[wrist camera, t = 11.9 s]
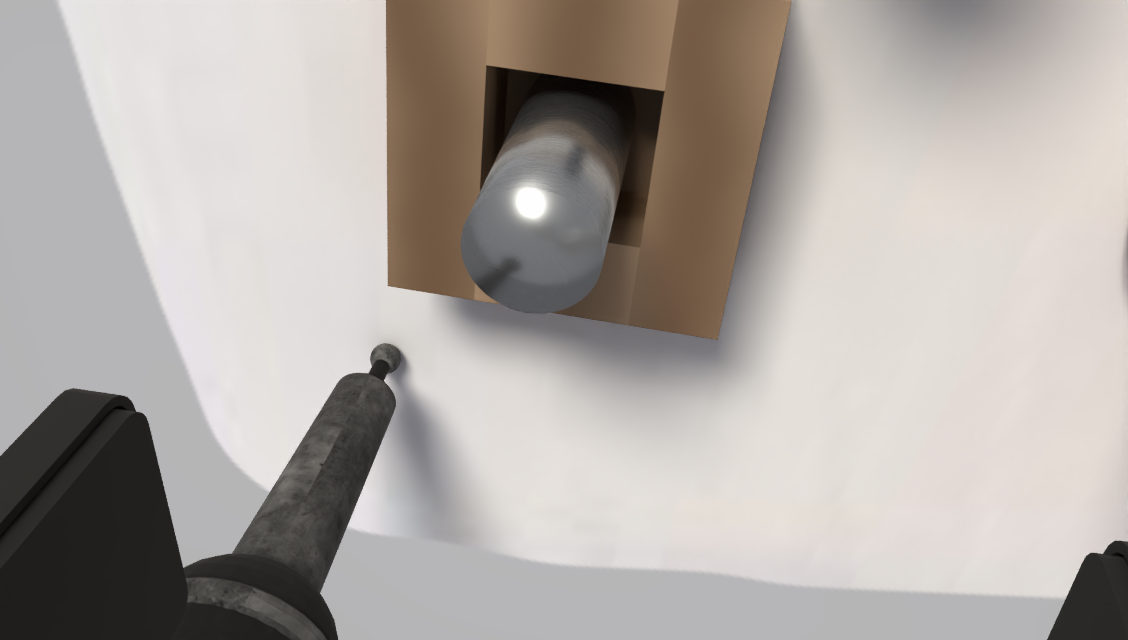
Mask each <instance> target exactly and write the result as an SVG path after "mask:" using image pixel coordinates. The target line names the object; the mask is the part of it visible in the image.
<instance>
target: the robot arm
mask: <svg viewBox="0 0 1128 640" xmlns="http://www.w3.org/2000/svg"><path fill="white" fill-rule="evenodd" d="M187 600H188V587H187V582H186V578H185V574H184V569H183V566H182V561H181V557H180V553H179V548H178V544H177V540H176V536H175V532H174V528H173V524H172V519H171V515H170V511H169V507H168V502H167V498H166V494H165V491H164V486H163V482H162V477H161V473H160V469H159V465H158V461H157V456H156V452H155V448H154V444H153V440H152V436H151V431H150V427H149V423H148V421H147V418H146V416H145V415H144V414H143V413H140V412H136V410H135V408H134V405H133V403H132V402H131V400H130V399H129V398H128V397H125V396H121V395H115V394H108V393H101V392H95V391H88V390H81V389H74V388H73V389H69V390H66V391H64V392H63V393H62V394H60V395H59V396H58V397H57V398H56V399H55V400H54V401H53V402H52V403H51V404H50V405H49V406H48V407H47V408H46V409H45V410H44V411H43V412H42V413H41V414H40V416H39V417H38V418H37V419H36V420H35V421H34V422H33V423H32V424H31V425H30V426H29V427H28V428H27V429H26V430H25V431H24V432H23V433H22V434H21V435H20V436H19V437H18V438H17V440H15V442H14V443H13V444H12V445H11V446H10V447H9V448H8V449H7V450H6V451H5V452H4V453H3V454H2V455H1V456H0V640H170V638H171V637H172V635H173V634H174V632H175V630H176V629H177V627H178V625H179V624H180V622H181V620H182V618H183V615H184V612H185V609H186V605H187ZM1047 640H1128V542H1125V541H1114V542H1112V543H1111V544H1110V545H1108V547H1107V549H1106V550H1105V552H1104V553H1103V554H1098V553H1090V554H1089V555H1087V556H1086V558H1085V559H1084V561H1083V563H1082V565H1081V567H1080V569H1079V571H1078V574H1077V576H1076V578H1075V580H1074V582H1073V584H1072V587H1071V589H1070V591H1069V593H1068V595H1067V598H1066V600H1065V602H1064V604H1063V606H1062V608H1061V611H1060V613H1059V615H1058V617H1057V619H1056V622H1055V624H1054V626H1053V629H1052V630H1051V632H1050V635H1049V637H1048V639H1047Z"/></svg>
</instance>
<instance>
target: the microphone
mask: <svg viewBox="0 0 1128 640" xmlns="http://www.w3.org/2000/svg"><path fill="white" fill-rule="evenodd" d="M370 361H371V364H372V368H371V370H370V372H369V374H368V373H352V374H349V375H346V376H344V377H343V378H342V379H341V380H339V382H338V383H337V385H336V387H335V388H334V390H333V391H332V393H331V395H330V396H329V398H328V399H327V401H326V403H325V404H324V406H323V408H322V409H321V411H320V412H319V414H318V416H317V417H316V419H315V420H314V422H313V424H312V425H311V427H310V429H309V430H308V432H307V433H306V435H305V437H304V438H303V440H302V441H301V443H300V445H299V446H298V448H297V450H296V451H295V453H294V454H293V456H292V458H291V459H290V461H289V462H288V464H287V466H286V467H285V469H284V471H283V472H282V474H281V475H280V477H279V479H278V480H277V482H276V483H275V485H274V487H273V488H272V490H271V492H270V493H269V495H268V496H267V498H266V500H265V501H264V503H263V505H262V506H261V508H260V509H259V511H258V512H257V514H256V516H255V518H254V519H253V521H252V522H251V524H250V526H249V527H248V529H247V530H246V532H245V533H244V535H243V537H242V538H241V540H240V542H239V543H238V545H237V546H236V548H235V550H234V551H233V553H232V554H226V555H221V556H215V557H211V558H207V559H202V560H199V561H197V562H195V563H193V564H191V565H189V566H187V567H185V568H183V569H184V574H185V578H186V582H187V587H188V600H187V605H186V609H185V612H184V615H183V618H182V620H181V622H180V624H179V625H178V627H177V629H176V630H175V632H174V634H173V635H172V637H171V638H170V640H338V636H337V631H336V626H335V622H334V619H333V617H332V614H331V612H330V610H329V608H328V606H327V604H326V603H325V601H324V599H323V597H322V596H321V594H320V592H321V589H322V587H323V584H324V582H325V579H326V577H327V574H328V572H329V570H330V567H331V565H332V562H333V560H334V557H335V555H336V552H337V550H338V547H339V545H340V543H341V540H342V538H343V535H344V533H345V530H346V528H347V525H348V523H349V521H350V518H351V516H352V513H353V511H354V508H355V506H356V503H357V501H358V498H359V496H360V494H361V491H362V489H363V486H364V484H365V481H366V479H367V476H368V474H369V471H370V469H371V467H372V464H373V462H374V459H375V457H376V454H377V452H378V449H379V447H380V444H381V442H382V440H383V437H384V435H385V432H386V430H387V427H388V425H389V422H390V420H391V417H392V415H393V413H394V410H395V407H396V400H395V396H394V394H393V392H392V390H391V389H390V388H389V386H388V385H387V384H386V383H385V382H384V379H385V377H386V375H387V373H391V372H393V371H395V370H396V369H397V368H398V366H399V364H400V362H401V355H400V352H399V351H398V349H397V348H396V347H395V346H393V345H391V344H386V343H385V344H380V345H378V346H377V347H375V348H374V350H373V351H372V353H371V357H370Z"/></svg>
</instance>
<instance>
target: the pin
mask: <svg viewBox="0 0 1128 640" xmlns="http://www.w3.org/2000/svg"><path fill="white" fill-rule="evenodd" d="M635 125H636V106H635V101H634V98H633V96H632V93H631V91H630V89H629V88H628V86H626V85H619V84H612V83H605V82H598V81H592V80H585V79H578V78H571V77H564V76H557V75H550V74H544V73H542V74H540V75H539V77H538V78H537V79H536V80H535V81H534V83H533V85H532V86H531V88H530V90H529V92H528V94H527V96H526V98H525V101H524V103H523V105H522V107H521V109H520V111H519V113H518V115H517V117H516V119H515V121H514V123H513V125H512V127H511V129H510V131H509V133H508V135H507V138H506V140H505V142H504V144H503V146H502V148H501V150H500V152H499V154H498V156H497V158H496V160H495V162H494V164H493V166H492V168H491V170H490V172H489V174H488V177H487V179H486V181H485V183H484V185H483V187H482V189H481V191H480V193H479V195H478V197H477V199H476V201H475V203H474V205H473V207H472V209H471V211H470V213H469V216H468V218H467V220H466V222H465V224H464V227H463V230H462V234H461V253H462V259H463V262H464V265H465V267H466V269H467V271H468V273H469V275H470V277H471V278H472V280H473V281H474V282H475V284H476V285H477V286H478V287H479V288H480V289H481V290H482V291H483V292H484V293H485V294H486V295H488V296H489V297H490V298H492V299H493V300H495V301H496V302H498V303H500V304H502V305H504V306H506V307H508V308H511V309H514V310H517V311H522V312H526V313H552V312H556V311H560V310H563V309H566V308H569V307H571V306H573V305H574V304H576V303H578V302H579V301H581V300H582V299H583V298H584V297H585V296H586V295H588V294H589V293H590V291H591V290H592V289H593V287H594V286H595V284H596V282H597V281H598V278H599V276H600V273H601V269H602V265H603V261H604V257H605V252H606V248H607V244H608V240H609V235H610V231H611V227H612V223H613V218H614V214H615V210H616V206H617V201H618V197H619V193H620V189H621V184H622V180H623V176H624V172H625V168H626V163H627V159H628V155H629V151H630V146H631V142H632V138H633V134H634V129H635Z"/></svg>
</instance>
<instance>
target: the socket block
mask: <svg viewBox="0 0 1128 640" xmlns="http://www.w3.org/2000/svg"><path fill="white" fill-rule="evenodd" d="M790 6H791V0H386V61H387V222H388V286H391V287H397V288H403V289H409V290H416V291H422V292H428V293H434V294H440V295H446V296H452V297H458V298H465V299H471V300H477V301H483V302H489V303H495V304H500V303H498V302H496V301H495V300H493V299H492V298H490V297H489V296H488V295H486V294H485V293H484V292H483V291H482V290H481V289H480V288H479V287H478V286H477V285H476V284H475V282H474V281H473V280H472V278H471V277H470V275H469V273H468V271H467V269H466V267H465V265H464V262H463V259H462V253H461V234H462V230H463V227H464V224H465V222H466V220H467V218H468V216H469V213H470V211H471V209H472V207H473V205H474V203H475V201H476V199H477V197H478V195H479V193H480V191H481V189H482V187H483V185H484V183H485V181H486V179H487V177H488V174H489V172H490V170H491V168H492V166H493V164H494V162H495V160H496V158H497V156H498V154H499V152H500V150H501V148H502V146H503V144H504V142H505V140H506V138H507V135H508V133H509V131H510V129H511V127H512V125H513V123H514V121H515V119H516V117H517V115H518V113H519V111H520V109H521V107H522V105H523V103H524V101H525V98H526V96H527V94H528V92H529V90H530V88H531V86H532V85H533V83H534V81H535V80H536V79H537V78H538V77H539V75H540V74H542V73H544V74H550V75H557V76H564V77H571V78H578V79H585V80H592V81H598V82H605V83H612V84H619V85H626V86H628V88H629V89H630V91H631V93H632V96H633V98H634V101H635V106H636V125H635V129H634V134H633V138H632V142H631V146H630V151H629V155H628V159H627V163H626V168H625V172H624V176H623V180H622V184H621V189H620V193H619V197H618V201H617V206H616V210H615V214H614V218H613V223H612V227H611V231H610V235H609V240H608V244H607V248H606V252H605V257H604V261H603V265H602V269H601V273H600V276H599V278H598V281H597V282H596V284H595V286H594V287H593V289H592V290H591V291H590V293H589V294H588V295H586V296H585V297H584V298H583V299H582V300H581V301H579V302H578V303H576V304H574V305H573V306H571V307H569V308H566V309H563V310H560V311H556V312H552V313H556V314H563V315H569V316H575V317H581V318H587V319H593V320H599V321H605V322H612V323H618V324H624V325H630V326H636V327H642V328H648V329H655V330H661V331H667V332H673V333H679V334H685V335H691V336H697V337H704V338H710V339H716V340H718V335H719V331H720V326H721V322H722V317H723V313H724V308H725V303H726V299H727V294H728V290H729V285H730V280H731V276H732V271H733V267H734V262H735V258H736V253H737V248H738V244H739V239H740V235H741V230H742V226H743V221H744V216H745V212H746V207H747V203H748V198H749V194H750V189H751V184H752V180H753V175H754V171H755V166H756V161H757V157H758V152H759V148H760V143H761V139H762V134H763V129H764V125H765V120H766V116H767V111H768V107H769V102H770V97H771V93H772V88H773V84H774V79H775V75H776V70H777V65H778V61H779V56H780V52H781V47H782V42H783V38H784V33H785V29H786V24H787V20H788V15H789V10H790ZM501 305H502V304H501Z"/></svg>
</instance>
